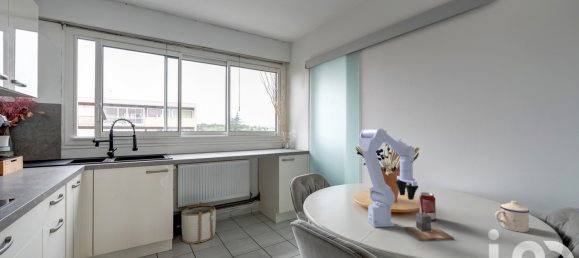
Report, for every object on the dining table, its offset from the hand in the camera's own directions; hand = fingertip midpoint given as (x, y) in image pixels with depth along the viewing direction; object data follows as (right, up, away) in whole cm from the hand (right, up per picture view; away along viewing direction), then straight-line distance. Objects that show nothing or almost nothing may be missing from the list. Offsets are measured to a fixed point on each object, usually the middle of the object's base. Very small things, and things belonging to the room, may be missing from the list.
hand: (406, 197), depth 118 cm
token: (-1, -8, -17) cm, 19 cm away
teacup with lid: (+38, -9, -15) cm, 42 cm away
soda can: (+8, -10, -4) cm, 13 cm away
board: (-1, -9, -20) cm, 22 cm away
